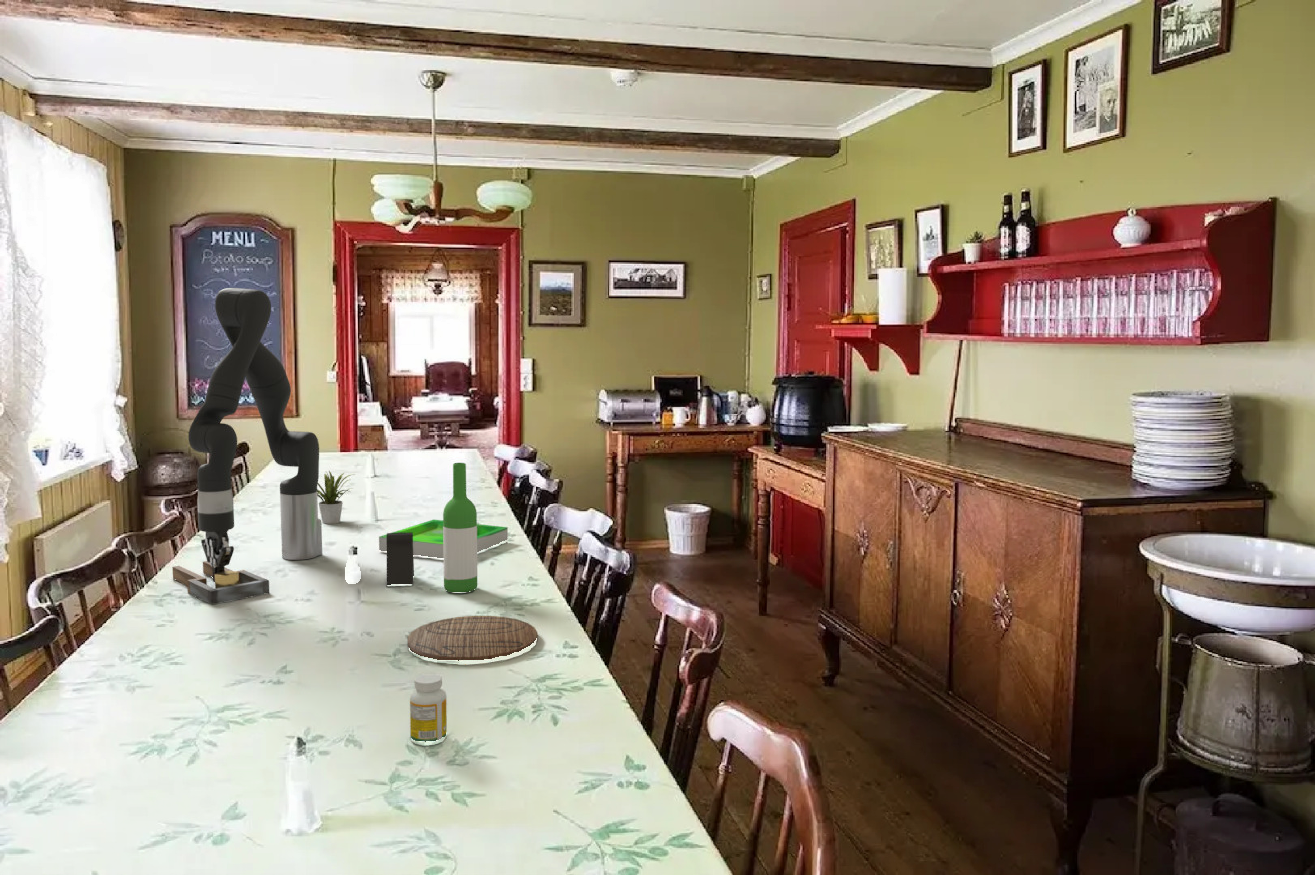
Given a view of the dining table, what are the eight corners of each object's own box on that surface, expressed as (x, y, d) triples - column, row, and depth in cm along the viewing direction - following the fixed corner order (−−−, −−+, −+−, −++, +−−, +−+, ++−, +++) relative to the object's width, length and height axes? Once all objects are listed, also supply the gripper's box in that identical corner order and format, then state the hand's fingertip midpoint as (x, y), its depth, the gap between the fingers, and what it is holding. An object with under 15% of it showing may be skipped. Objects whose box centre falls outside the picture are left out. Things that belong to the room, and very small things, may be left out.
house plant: (368, 521, 298) (367, 469, 296) (332, 529, 287) (330, 475, 285) (338, 515, 306) (336, 465, 304) (301, 523, 294) (299, 470, 292)
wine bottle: (469, 596, 219) (468, 466, 216) (438, 593, 221) (436, 465, 217) (482, 587, 227) (481, 461, 223) (452, 584, 229) (450, 460, 225)
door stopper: (412, 586, 227) (411, 537, 225) (386, 587, 225) (385, 537, 224) (414, 576, 235) (413, 528, 234) (389, 577, 234) (388, 529, 233)
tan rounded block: (234, 588, 223) (233, 569, 222) (242, 593, 219) (242, 574, 219) (212, 592, 219) (211, 573, 219) (220, 597, 216) (219, 578, 215)
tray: (379, 554, 259) (379, 536, 258) (433, 536, 282) (433, 519, 281) (457, 564, 250) (457, 545, 249) (507, 544, 273) (507, 527, 272)
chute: (218, 570, 238) (218, 559, 238) (269, 593, 219) (268, 580, 219) (163, 580, 229) (162, 568, 228) (211, 604, 210) (211, 591, 210)
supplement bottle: (424, 750, 141) (423, 688, 139) (403, 740, 144) (401, 678, 143) (454, 739, 145) (453, 677, 144) (432, 728, 148) (431, 669, 147)
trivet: (540, 664, 178) (540, 654, 178) (401, 670, 174) (401, 660, 174) (535, 622, 202) (535, 613, 202) (413, 626, 198) (413, 617, 198)
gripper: (244, 511, 218) (247, 585, 221) (220, 502, 227) (223, 573, 229) (210, 515, 213) (214, 591, 215) (187, 507, 222) (190, 579, 224)
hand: (218, 582), depth 222 cm, fingers closed
